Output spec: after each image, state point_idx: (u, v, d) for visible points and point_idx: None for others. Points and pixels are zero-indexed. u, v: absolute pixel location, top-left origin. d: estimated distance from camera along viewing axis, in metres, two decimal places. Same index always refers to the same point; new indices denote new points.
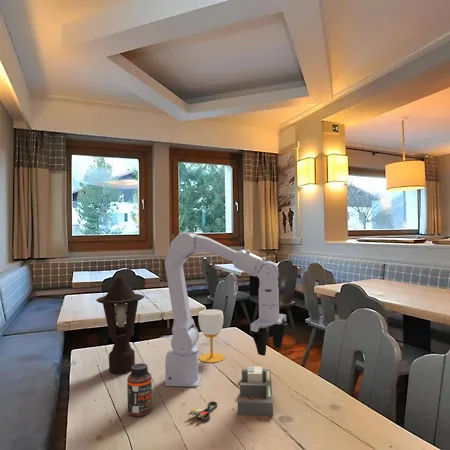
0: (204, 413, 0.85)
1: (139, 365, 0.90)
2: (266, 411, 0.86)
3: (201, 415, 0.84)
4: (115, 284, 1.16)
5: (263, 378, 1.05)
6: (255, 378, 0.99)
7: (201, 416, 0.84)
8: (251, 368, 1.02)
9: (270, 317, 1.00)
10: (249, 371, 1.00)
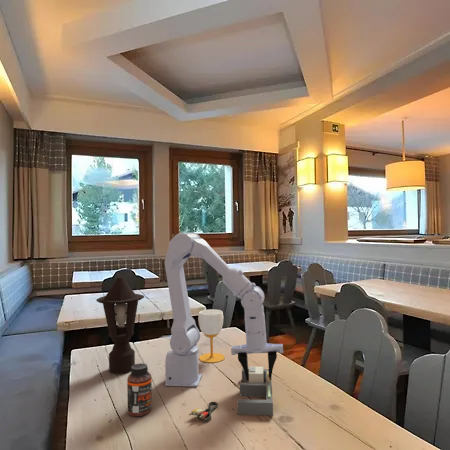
0: (205, 413, 0.85)
1: (139, 365, 0.90)
2: (266, 411, 0.86)
3: (202, 415, 0.84)
4: (115, 284, 1.16)
5: (263, 378, 1.05)
6: (257, 378, 0.99)
7: (202, 416, 0.84)
8: (252, 368, 1.02)
9: (249, 344, 1.00)
10: (250, 371, 1.00)
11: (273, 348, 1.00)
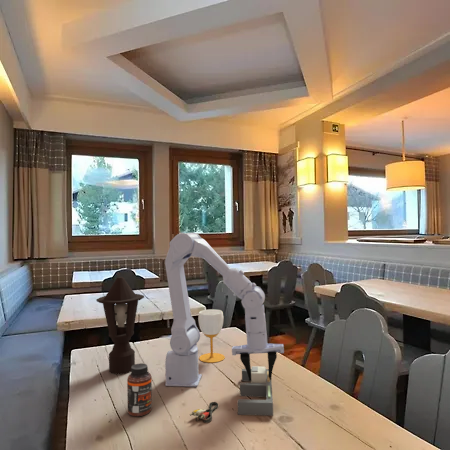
0: (206, 414, 0.85)
1: (139, 365, 0.90)
2: (266, 411, 0.86)
3: (203, 416, 0.84)
4: (115, 284, 1.16)
5: None
6: (259, 377, 0.99)
7: (203, 417, 0.84)
8: (254, 368, 1.02)
9: (249, 344, 1.00)
10: (253, 371, 1.00)
11: (274, 348, 0.99)
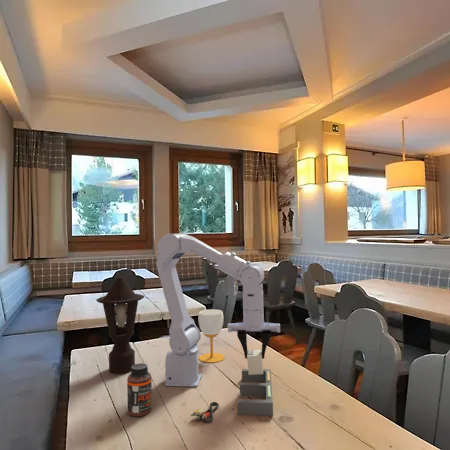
0: (207, 414, 0.85)
1: (139, 365, 0.90)
2: (266, 411, 0.86)
3: (204, 416, 0.84)
4: (115, 284, 1.16)
5: (263, 378, 1.05)
6: (255, 360, 0.98)
7: (204, 417, 0.84)
8: (250, 351, 1.01)
9: (246, 321, 0.99)
10: (248, 354, 0.99)
11: (270, 327, 0.98)
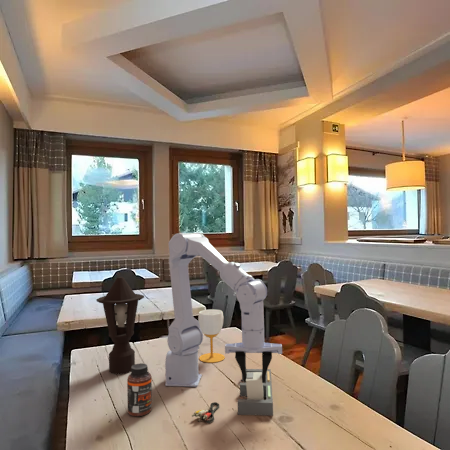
0: (208, 414, 0.85)
1: (139, 365, 0.90)
2: (266, 411, 0.86)
3: (205, 416, 0.84)
4: (115, 284, 1.16)
5: None
6: (255, 385, 0.90)
7: (205, 417, 0.84)
8: (250, 374, 0.93)
9: (244, 342, 0.90)
10: (248, 378, 0.91)
11: (271, 348, 0.90)
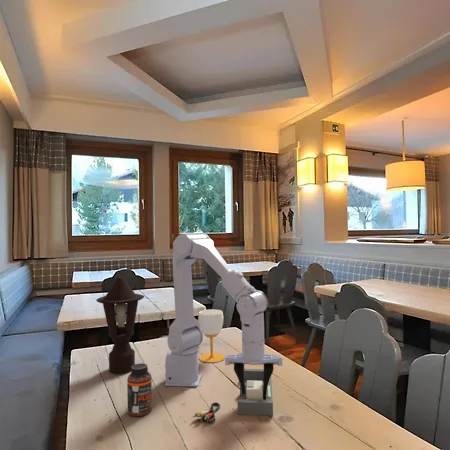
0: (209, 414, 0.84)
1: (139, 365, 0.90)
2: (266, 411, 0.86)
3: (207, 417, 0.83)
4: (115, 284, 1.16)
5: (263, 378, 1.05)
6: (255, 394, 0.90)
7: (207, 418, 0.83)
8: (250, 383, 0.92)
9: (245, 354, 0.90)
10: (248, 386, 0.91)
11: (271, 360, 0.90)
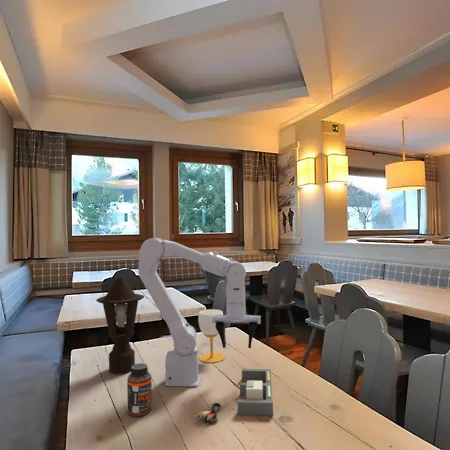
0: (212, 415, 0.84)
1: (139, 365, 0.90)
2: (266, 411, 0.86)
3: (209, 417, 0.83)
4: (115, 284, 1.16)
5: (263, 378, 1.05)
6: (255, 394, 0.90)
7: (209, 418, 0.83)
8: (250, 383, 0.92)
9: (228, 313, 1.06)
10: (248, 386, 0.91)
11: (251, 318, 1.06)
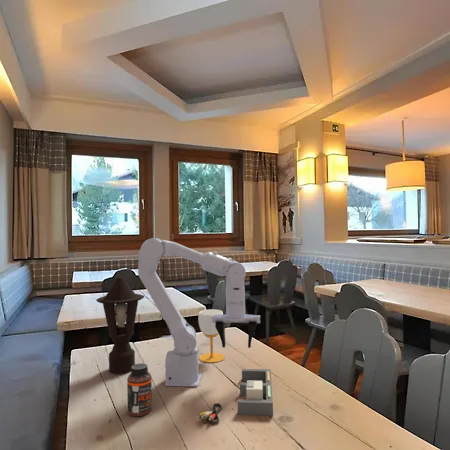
0: (213, 415, 0.84)
1: (139, 365, 0.90)
2: (266, 411, 0.86)
3: (211, 418, 0.83)
4: (115, 284, 1.16)
5: (263, 378, 1.05)
6: (255, 394, 0.90)
7: (211, 419, 0.83)
8: (250, 383, 0.92)
9: (228, 313, 1.07)
10: (248, 386, 0.91)
11: (251, 318, 1.06)
